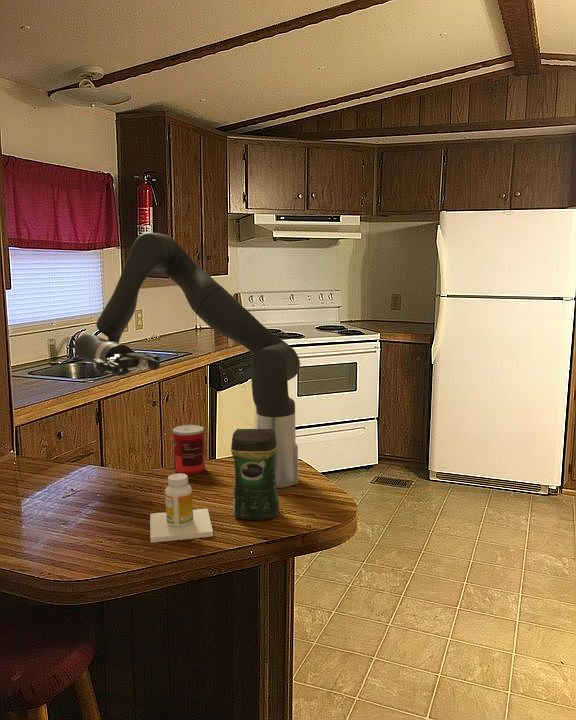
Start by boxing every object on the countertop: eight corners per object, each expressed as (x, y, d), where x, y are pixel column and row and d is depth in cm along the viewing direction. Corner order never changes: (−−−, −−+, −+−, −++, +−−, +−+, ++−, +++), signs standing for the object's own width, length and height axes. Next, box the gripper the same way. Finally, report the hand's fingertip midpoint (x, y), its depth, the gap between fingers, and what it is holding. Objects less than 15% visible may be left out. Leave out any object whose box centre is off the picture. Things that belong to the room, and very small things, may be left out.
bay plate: (207, 512, 141) (207, 508, 141) (213, 536, 129) (212, 531, 129) (150, 518, 139) (150, 513, 138) (150, 542, 127) (150, 537, 127)
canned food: (187, 463, 174) (185, 423, 172) (211, 468, 170) (210, 427, 168) (168, 472, 167) (166, 430, 166) (192, 477, 163) (190, 434, 161)
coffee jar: (280, 507, 143) (279, 424, 140) (276, 522, 136) (274, 434, 133) (236, 506, 144) (234, 424, 141) (230, 521, 137) (227, 434, 134)
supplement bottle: (196, 517, 136) (194, 472, 135) (189, 527, 131) (187, 481, 129) (170, 516, 137) (168, 471, 135) (163, 527, 131) (161, 480, 130)
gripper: (84, 345, 155) (104, 353, 142) (142, 340, 163) (166, 347, 149) (86, 376, 157) (106, 388, 143) (144, 370, 164) (168, 380, 150)
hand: (137, 367), depth 146 cm, fingers open, 8 cm apart
